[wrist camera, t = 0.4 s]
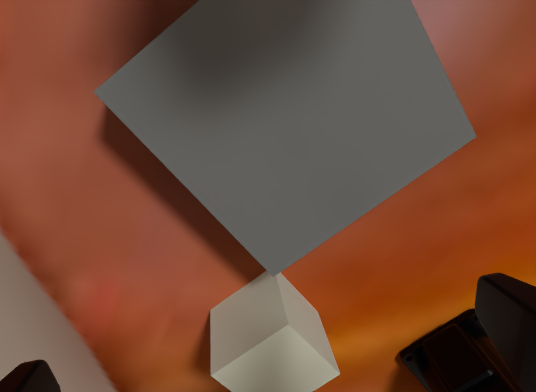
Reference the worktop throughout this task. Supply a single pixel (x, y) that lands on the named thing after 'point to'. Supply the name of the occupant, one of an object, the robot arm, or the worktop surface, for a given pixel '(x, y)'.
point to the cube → (269, 340)
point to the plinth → (291, 113)
